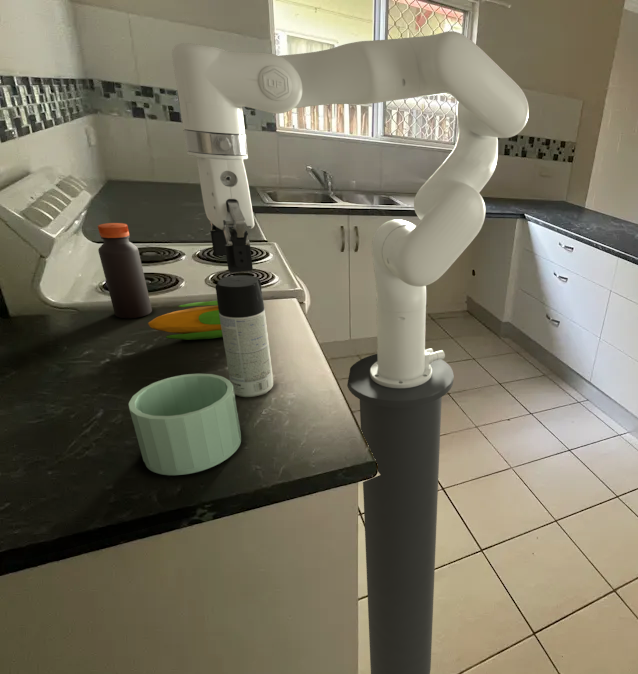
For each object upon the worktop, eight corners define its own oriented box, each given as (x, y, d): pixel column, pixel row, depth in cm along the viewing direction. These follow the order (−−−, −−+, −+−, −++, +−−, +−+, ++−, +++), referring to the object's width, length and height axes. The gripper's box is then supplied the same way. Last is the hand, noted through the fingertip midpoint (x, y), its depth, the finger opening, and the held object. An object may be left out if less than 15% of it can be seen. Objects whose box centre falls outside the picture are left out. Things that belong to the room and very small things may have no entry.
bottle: (156, 314, 108) (136, 227, 100) (119, 321, 103) (95, 229, 95) (147, 306, 112) (127, 221, 104) (111, 312, 107) (88, 223, 99)
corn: (256, 303, 99) (139, 311, 91) (260, 337, 102) (147, 348, 93) (256, 294, 105) (146, 300, 97) (260, 326, 108) (154, 335, 99)
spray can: (277, 378, 87) (265, 274, 79) (269, 398, 81) (254, 287, 73) (238, 379, 86) (221, 273, 78) (226, 399, 80) (206, 286, 72)
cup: (230, 416, 76) (222, 366, 72) (250, 455, 68) (242, 401, 64) (139, 440, 68) (124, 386, 65) (149, 487, 60) (133, 429, 57)
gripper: (263, 153, 64) (275, 275, 71) (231, 142, 76) (244, 248, 82) (198, 150, 59) (217, 280, 66) (175, 139, 71) (194, 251, 78)
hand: (232, 262), depth 74 cm, fingers open, 9 cm apart
